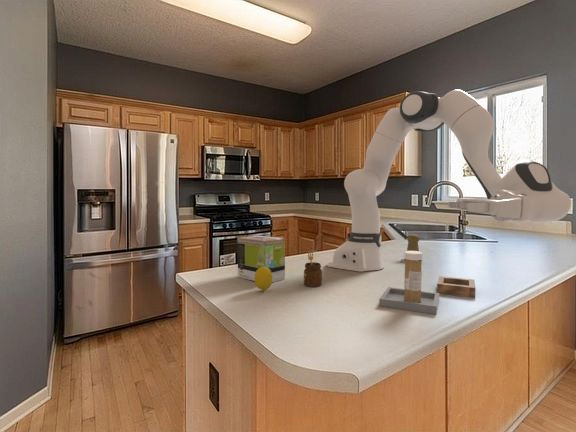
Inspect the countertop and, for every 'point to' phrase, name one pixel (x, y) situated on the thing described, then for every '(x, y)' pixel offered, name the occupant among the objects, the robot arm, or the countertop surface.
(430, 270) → the countertop surface
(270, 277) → the lemon
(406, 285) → the sprinkles bottle
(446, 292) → the square wooden box
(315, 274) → the utensil holder
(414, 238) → the olive tapered container
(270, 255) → the tea box
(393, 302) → the tray
